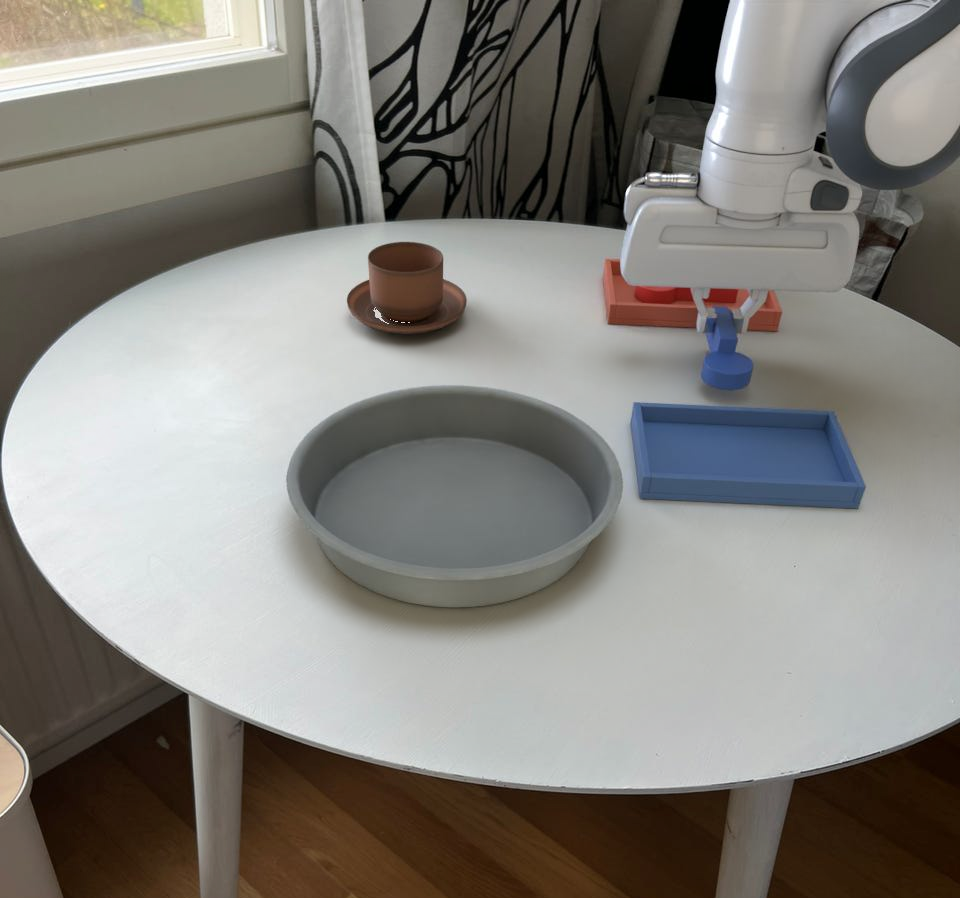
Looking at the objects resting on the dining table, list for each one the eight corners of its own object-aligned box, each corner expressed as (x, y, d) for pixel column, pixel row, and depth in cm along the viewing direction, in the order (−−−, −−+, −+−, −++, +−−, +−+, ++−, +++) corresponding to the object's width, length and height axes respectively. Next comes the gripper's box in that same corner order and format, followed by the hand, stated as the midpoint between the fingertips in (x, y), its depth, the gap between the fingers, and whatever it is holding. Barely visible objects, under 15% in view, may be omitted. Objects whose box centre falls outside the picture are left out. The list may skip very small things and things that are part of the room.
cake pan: (660, 603, 66) (671, 552, 63) (305, 647, 62) (297, 595, 59) (567, 418, 83) (572, 371, 80) (284, 443, 79) (277, 395, 76)
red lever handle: (731, 290, 101) (737, 262, 99) (737, 309, 98) (743, 280, 96) (633, 286, 102) (637, 258, 100) (635, 304, 98) (640, 276, 96)
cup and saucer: (323, 320, 96) (317, 259, 91) (401, 281, 103) (399, 223, 98) (414, 357, 91) (413, 294, 86) (490, 313, 97) (491, 253, 93)
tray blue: (827, 432, 83) (834, 410, 81) (858, 508, 75) (866, 486, 73) (630, 423, 83) (633, 401, 82) (639, 498, 75) (643, 476, 74)
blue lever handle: (691, 334, 92) (696, 305, 90) (736, 336, 92) (742, 306, 90) (704, 389, 85) (710, 358, 83) (753, 391, 85) (761, 360, 83)
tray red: (759, 284, 104) (763, 265, 103) (777, 331, 96) (782, 311, 95) (602, 277, 104) (604, 258, 103) (607, 324, 96) (610, 304, 95)
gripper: (630, 184, 78) (611, 342, 87) (882, 192, 77) (836, 350, 87) (625, 158, 82) (608, 311, 92) (863, 166, 82) (821, 319, 91)
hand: (720, 330), depth 89 cm, fingers closed on blue lever handle
